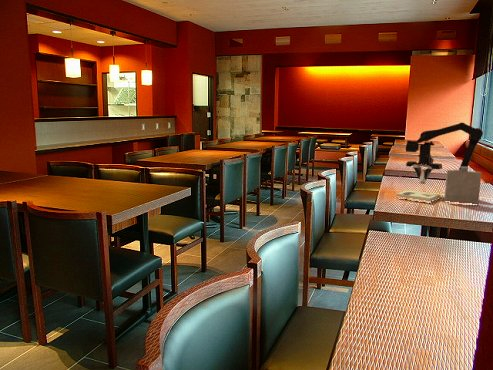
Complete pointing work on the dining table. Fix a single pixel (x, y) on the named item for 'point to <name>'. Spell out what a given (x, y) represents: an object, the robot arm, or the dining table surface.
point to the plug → (422, 176)
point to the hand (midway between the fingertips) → (422, 179)
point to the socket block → (419, 195)
